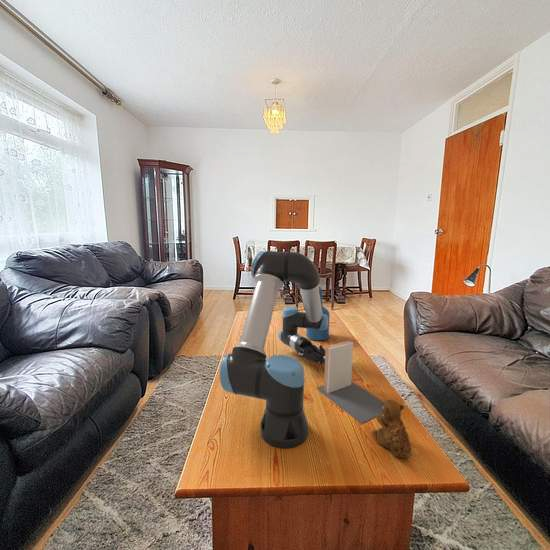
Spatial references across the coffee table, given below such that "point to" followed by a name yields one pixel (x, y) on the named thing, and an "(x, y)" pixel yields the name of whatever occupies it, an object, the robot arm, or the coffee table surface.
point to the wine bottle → (319, 334)
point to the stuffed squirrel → (392, 429)
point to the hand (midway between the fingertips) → (335, 365)
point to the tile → (338, 366)
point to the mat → (355, 402)
